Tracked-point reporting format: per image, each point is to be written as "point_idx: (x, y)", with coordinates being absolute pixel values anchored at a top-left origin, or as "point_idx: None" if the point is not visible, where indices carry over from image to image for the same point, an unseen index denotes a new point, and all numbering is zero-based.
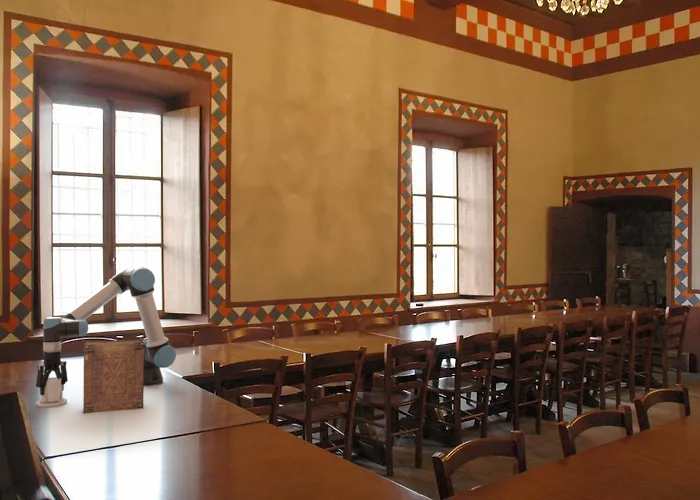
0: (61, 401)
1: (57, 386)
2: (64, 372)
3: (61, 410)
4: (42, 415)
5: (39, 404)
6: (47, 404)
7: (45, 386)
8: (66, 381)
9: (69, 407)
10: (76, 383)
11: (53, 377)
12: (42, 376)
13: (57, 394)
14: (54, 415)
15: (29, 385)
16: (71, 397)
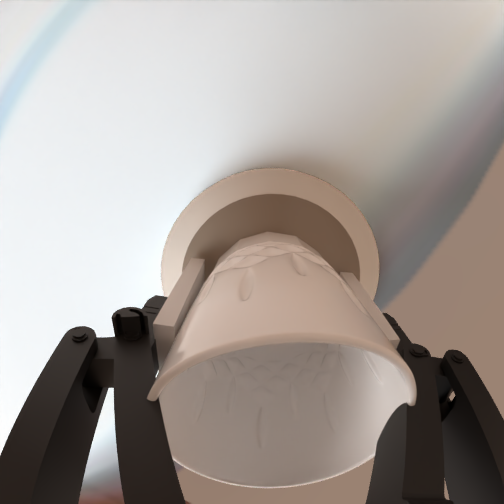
0: (259, 194)
1: (293, 277)
2: (48, 438)
3: (382, 68)
4: (487, 110)
5: (375, 287)
6: (369, 228)
7: (378, 368)
8: (86, 331)
9: (295, 72)
10: (16, 410)
11: (192, 468)
12: (493, 441)
13: (276, 246)
14: (462, 47)
15: (120, 488)
16: (86, 299)
